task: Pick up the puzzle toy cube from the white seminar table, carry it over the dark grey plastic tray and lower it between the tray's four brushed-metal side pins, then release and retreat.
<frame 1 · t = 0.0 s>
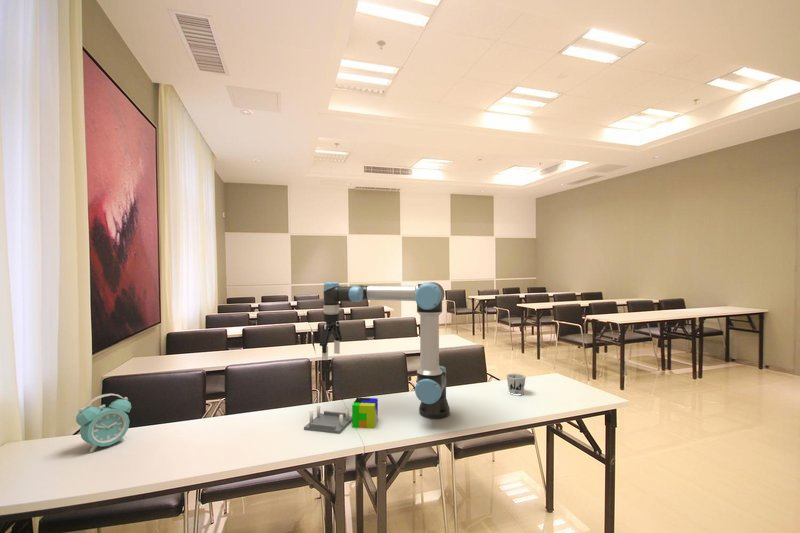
hand: (331, 356, 177), 28 cm above the table, fingers open, 13 cm apart
alarm clock: (105, 445, 145), on the table
tray: (329, 424, 165), on the table
mug: (515, 392, 209), on the table
puzzle toy: (365, 424, 166), on the table
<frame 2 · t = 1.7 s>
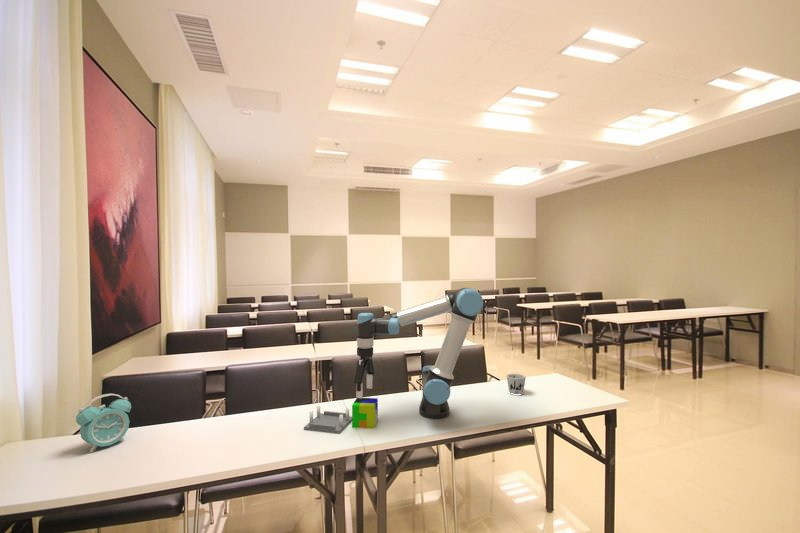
hand: (364, 393, 166), 14 cm above the table, fingers open, 13 cm apart
nothing on the table moved.
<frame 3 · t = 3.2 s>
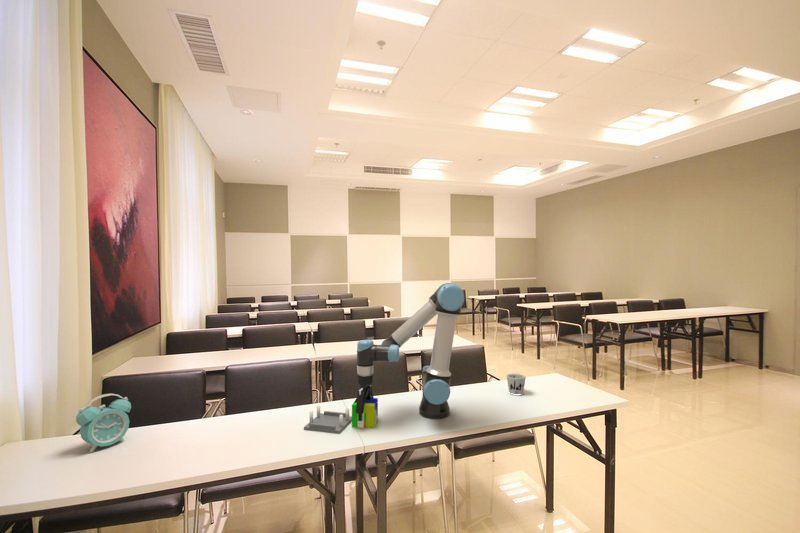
hand: (365, 422, 166), 0 cm above the table, fingers closed on puzzle toy, 10 cm apart
puzzle toy: (365, 423, 166), on the table, touching gripper
everything else where it was.
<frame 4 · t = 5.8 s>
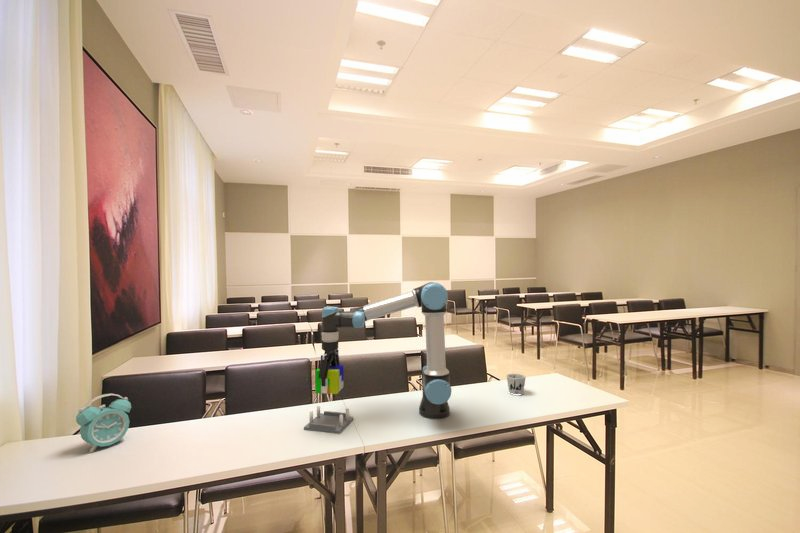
hand: (329, 389, 165), 16 cm above the table, fingers closed on puzzle toy, 10 cm apart
puzzle toy: (329, 390, 165), point 15 cm above the table, touching gripper
everything else where it was.
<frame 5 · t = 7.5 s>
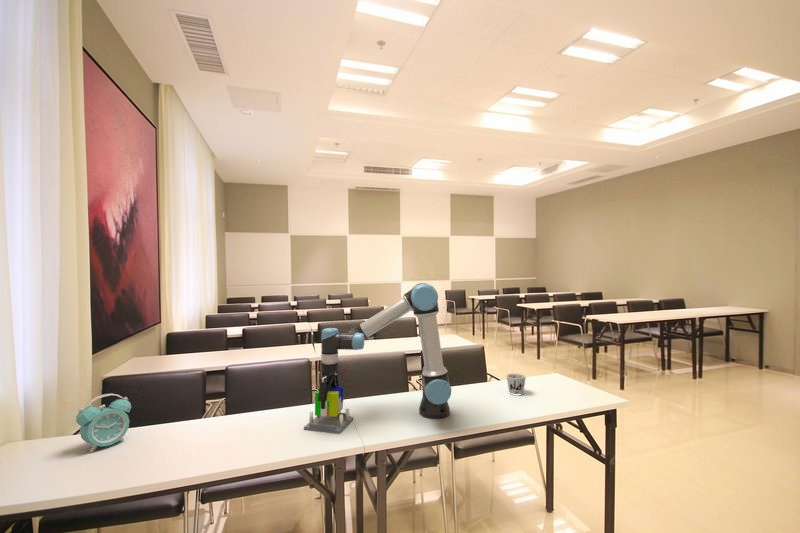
hand: (329, 410, 165), 6 cm above the table, fingers closed on puzzle toy, 10 cm apart
puzzle toy: (329, 412, 165), point 5 cm above the table, touching gripper
everything else where it was.
when the fingers open (4 cm above the table, at t = 8.5 s): puzzle toy drops 3 cm, resting on tray.
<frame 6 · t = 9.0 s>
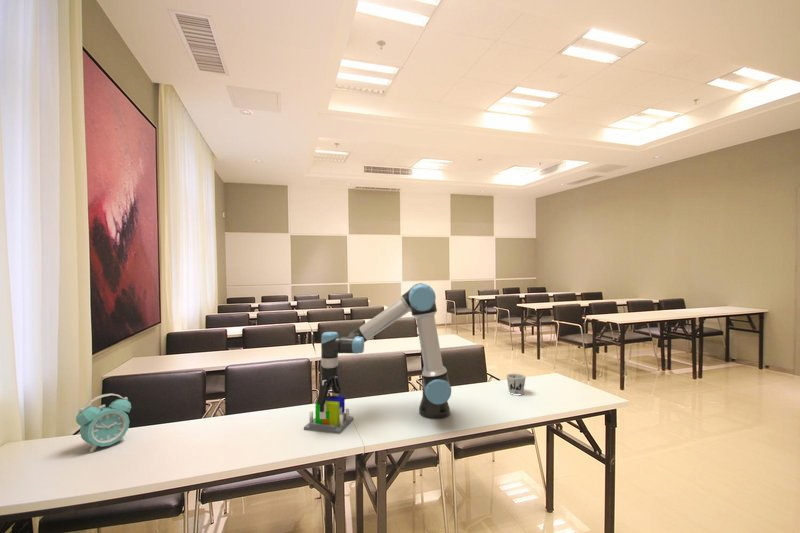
hand: (329, 412, 165), 5 cm above the table, fingers open, 13 cm apart
puzzle toy: (330, 422, 165), point 1 cm above the table, touching tray
everything else where it was.
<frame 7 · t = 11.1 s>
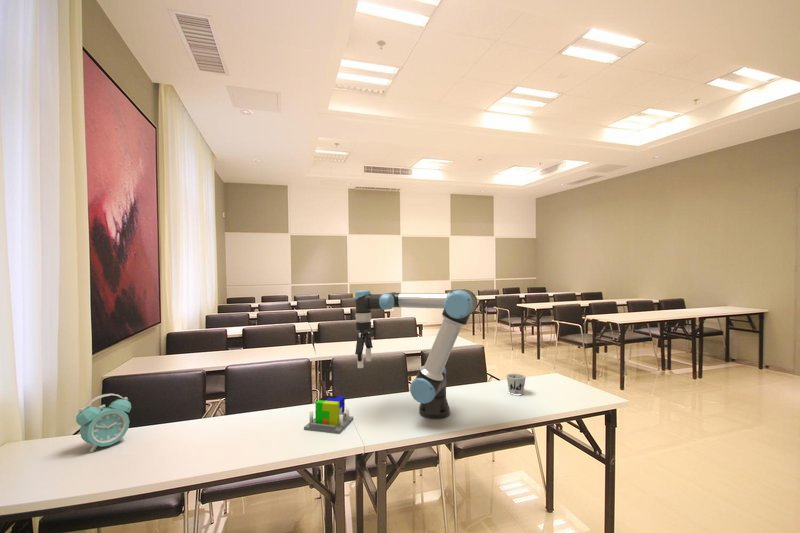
hand: (364, 364, 178), 24 cm above the table, fingers open, 13 cm apart
nothing on the table moved.
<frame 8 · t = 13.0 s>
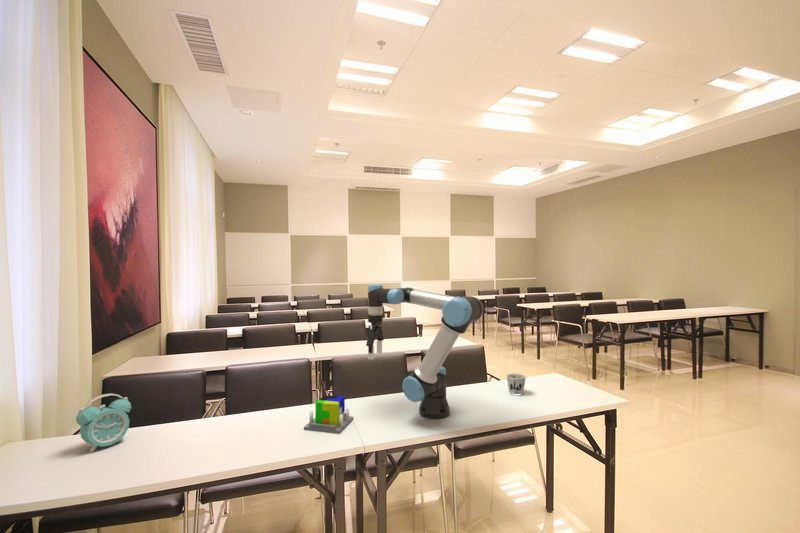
hand: (375, 356, 184), 27 cm above the table, fingers open, 13 cm apart
nothing on the table moved.
at the end: puzzle toy 0.4 cm off-centre on the tray, point 1.0 cm above the tray's base; puzzle toy tilted 0°; the gripper is holding nothing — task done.
